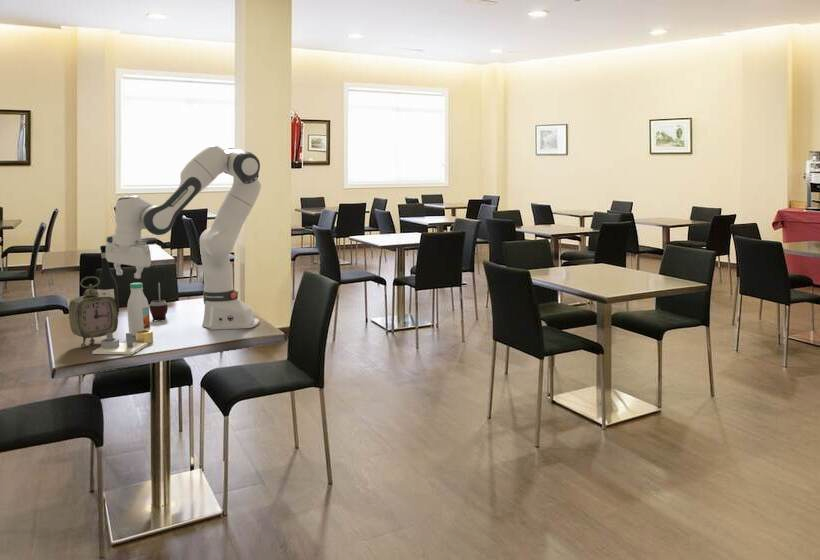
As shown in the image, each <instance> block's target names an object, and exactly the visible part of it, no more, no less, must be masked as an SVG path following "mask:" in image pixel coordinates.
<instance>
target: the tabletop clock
mask: <svg viewBox="0 0 820 560" xmlns="http://www.w3.org/2000/svg"><path fill="white" fill-rule="evenodd" d="M99 278H100V277H97V276H91V275H90V276H89V275H88V276H85V277H84V278H82V279H81V281H80V286H81V287H82V288H83V289H86V290H85V291H84V292H83V294H82V296H77V297H74V298H72V299H70V301H69V304H68V321H69V326H70V330H71V332H72V334H73V335H76V336H78V337H81V338H82V339H83V340H82V343H81V345H80V348H82V349H84V348H86V346H87V345H86V341H87V339H90V340H89V343H91V344H94V343H95V342H96V341H95V339H94V338H100V337H103V336H104V337H105V336H106V333H110V332H111V333H115V332H117V329H118V325H119V312H117V305H116V302H115V300H114V298H112V297H109V296H105V295H101V294H99V292H98V291H97V289H95V288H97V287H98V285H99V283H100V280H99ZM89 279H95V280H97V284H94V285H93V284H92V283H89V284H88V285H87V286H86V285H83V282H84V281H85V280H89ZM98 281H99V282H98Z"/></svg>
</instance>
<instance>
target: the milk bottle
mask: <svg viewBox="0 0 820 560" xmlns="http://www.w3.org/2000/svg"><path fill="white" fill-rule="evenodd" d="M143 286H144V284H143V282H132V283H130V284H129V287H130V288H129V289H130V295H129V298H128V301H127V306H126V308H127V310H126V311H127V322H128V323H127V324H128V333H132V337H136V332H137V331H142V330H151V321H150V320H151V319H150V305H149V302H148V299H147V297H146V296H145V294H144V291H143V290H144V287H143Z"/></svg>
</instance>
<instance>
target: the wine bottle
mask: <svg viewBox="0 0 820 560" xmlns="http://www.w3.org/2000/svg"><path fill="white" fill-rule="evenodd" d="M106 245H107V244H106ZM106 245H100V247H99V248H100V255H101V272H100V275H99V277H98V278H99V280H100V283H99V285H98V286H96V288H97V289H96V290H97V291H98V292H99V294H101V295H105V296H109V297H112V298H114V300H115V302H116V305H117V312H118V313H119V312H120V306H119V303H120V302H119V293H118V292H119V291H118V285H117V282H116V279H115V277H114V274H113V273H112V272H111V271H112V270H111V268H110V262H108V261H107V259H106ZM98 282H99V281H98V280H97V283H98Z"/></svg>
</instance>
